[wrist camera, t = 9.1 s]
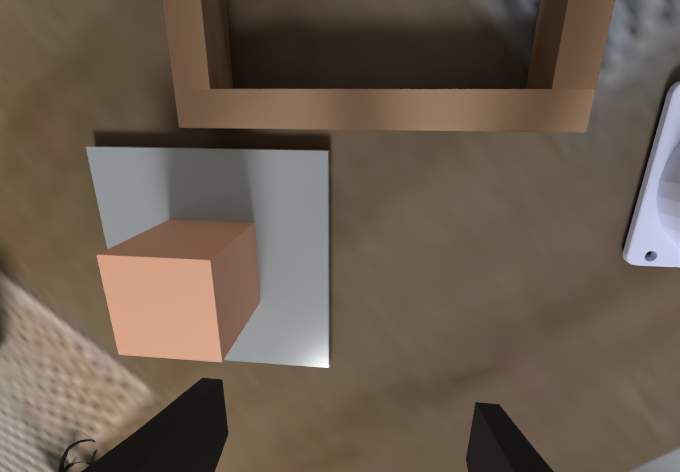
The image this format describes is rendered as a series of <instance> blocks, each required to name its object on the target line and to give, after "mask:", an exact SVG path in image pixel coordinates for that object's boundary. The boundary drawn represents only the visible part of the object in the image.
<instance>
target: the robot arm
mask: <svg viewBox="0 0 680 472" xmlns="http://www.w3.org/2000/svg"><path fill="white" fill-rule="evenodd" d="M649 251H651V254H650V256H649V257H647V258H645V255H646V253H648V252H649ZM623 258H624V260H625V261H627V262H628V263H630V264H632V265H640V266H663V267H680V81H678V82H676V83H675V84H673V85H672V86H671V87H670V88H669V91H668V93H667V96H666V99H665V103H664V106H663V110H662V114H661V117H660V121H659V124H658V128H657V132H656V135H655V139H654V142H653V146H652V150H651V153H650V157H649V160H648V164H647V168H646V171H645V175H644V179H643V182H642V186H641V189H640V193H639V197H638V200H637V204H636V207H635V211H634V215H633V218H632V222H631V225H630V229H629V233H628V236H627V240H626V243H625V247H624V251H623ZM227 436H228V426H227V418H226V409H225V400H224V391H223V382H222V380H221V379H210V378H202V379H200V380H199V381H198V382H197V383H195V384H194V385H193V386H192V387H190V388H189V389H188V390H187V391H185V392H184V393H183V394H182V395H181V396H179V397H178V398H177V399H176V400H175V401H173V402H172V403H171V404H170V405H168V406H167V407H166V408H165V409H163V410H162V411H161V412H160V413H159V414H157V415H156V416H155V417H154V418H152V419H151V420H150V421H149V422H147V423H146V424H145V425H144V426H142V427H141V428H140V429H138V430H137V431H136V432H135V433H133V434H132V435H131V436H129V437H128V438H127V439H125V440H124V441H123V442H121V443H120V444H119V445H117V446H116V447H114V448H113V449H112V450H110V451H109V452H108V453H106V454H105V455H104V456H102V457H101V458H100V459H98V460H97V461H96V462H94V463H93V464H91V465H90V466H89V467H87V468H86V469H84V470H83V471H81V472H215V469H216V467H217V464H218V461H219V459H220V456H221V453H222V450H223V447H224V445H225V442H226V439H227ZM466 461H467V467H468V472H554V471H553V470H552V469H551V468H550V467H549V466H548V464H547V463H546V462H545V461H544V460H543V458H542V457H541V456H540V455H539V454H538V452H537V451H536V450H535V449H534V447H533V446H532V445H531V444H530V443H529V441H528V440H527V439H526V438H525V436H524V435H523V434H522V433H521V431H520V430H519V429H518V428H517V426H516V425H515V424H514V422H513V421H512V420H511V419H510V417H509V416H508V415H507V414H506V412H505V411H504V410H503V409H502V407H501V406H500V405H499V404H488V403H477V402H476V403H475V409H474V415H473V421H472V427H471V433H470V439H469V445H468V450H467V456H466Z"/></svg>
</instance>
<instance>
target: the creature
mask: <svg viewBox="0 0 680 472" xmlns="http://www.w3.org/2000/svg"><path fill="white" fill-rule="evenodd" d="M86 441H92V442H95V441H94V440H89V439H88V440H80V441H78V442H75V443H73V444H72V445H70V446H69V447H68V448H67V449H66V451H65V453H64V455H63V457H62V459H61V461H60V464H59V472H67V471H68V469H69V468H70V467H72V466H73V465H74V464H75V463H81V462H75V463H74V464H68V465H67V466H66V467H65V468H64V462H65V459H66V456H67V454H68V451H69V449H71V448H73V447H74V446H76V445H77V444H79V443H80V442H86ZM96 452H97V449H96V450H95V452H94V453H93V457H92V463H91V464H93V458H94V456H95V454H96ZM85 463H86V462H85ZM87 464H89V463H87ZM91 464H90V465H91Z"/></svg>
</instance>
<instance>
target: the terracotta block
mask: <svg viewBox="0 0 680 472" xmlns="http://www.w3.org/2000/svg"><path fill="white" fill-rule="evenodd" d="M97 259H98V264H99V268H100V273H101V277H102V282H103V286H104V291H105V295H106V299H107V304H108V308H109V313H110V317H111V322H112V326H113V331H114V335H115V340H116V344H117V349H118V353H119V355H132V356H145V357H158V358H172V359H185V360H198V361H212V362H223V360H224V358H225V357H226V355H227V354H228V352H229V351H230V349H231V347H232V346H233V344H234V343H235V341H236V340H237V338H238V336H239V335H240V333H241V332H242V330H243V329H244V327H245V325H246V324H247V322H248V321H249V319H250V318H251V316H252V314H253V313H254V311H255V310H256V308H257V307H258V305H259V303H260V292H259V278H258V264H257V249H256V235H255V222H228V221H201V220H174V219H169V220H167V221H165V222H163V223H161V224H159V225H157V226H155V227H152V228H150V229H148V230H146V231H144V232H142V233H140V234H138V235H136V236H134V237H132V238H130V239H128V240H126V241H124V242H122V243H120V244H118V245H115V246H113V247H111V248H109V249H107V250H105V251H103V252H101V253H99V254H97Z"/></svg>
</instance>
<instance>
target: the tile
mask: <svg viewBox="0 0 680 472" xmlns="http://www.w3.org/2000/svg"><path fill="white" fill-rule="evenodd" d="M86 150H87V155H88V159H89V164H90V169H91V174H92V178H93V183H94V188H95V192H96V197H97V202H98V207H99V211H100V216H101V221H102V225H103V230H104V235H105V239H106V244H107V249H109V248H111V247H113V246H115V245H118V244H120V243H122V242H124V241H126V240H128V239H130V238H132V237H134V236H136V235H138V234H140V233H142V232H144V231H146V230H148V229H150V228H152V227H155V226H157V225H159V224H161V223H163V222H165V221H167V220H169V219H174V220H201V221H228V222H255V235H256V249H257V264H258V278H259V292H260V303H259V305H258V307H257V308H256V310H255V311H254V313H253V314H252V316H251V318H250V319H249V321H248V322H247V324H246V325H245V327H244V329H243V330H242V332H241V333H240V335H239V336H238V338H237V340H236V341H235V343H234V344H233V346H232V347H231V349H230V351H229V352H228V354H227V355H226V357H225V358H224V360H230V361H244V362H257V363H271V364H285V365H298V366H312V367H325V368H329V364H330V150H316V149H255V148H195V147H134V146H88V147H86Z"/></svg>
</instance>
